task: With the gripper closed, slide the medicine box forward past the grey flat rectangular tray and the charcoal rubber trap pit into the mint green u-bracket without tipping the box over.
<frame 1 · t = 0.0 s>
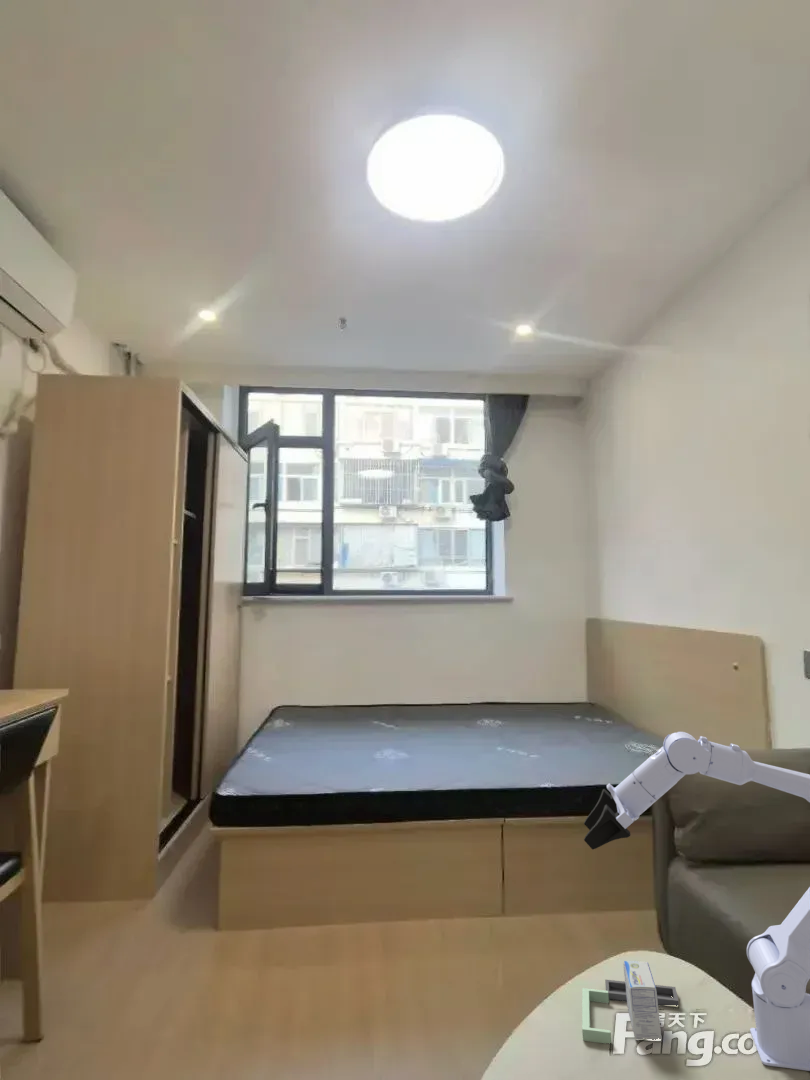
hand: (588, 835, 110), 32 cm above the table, tool tilted 50°, fingers open, 7 cm apart
mint green u-bracket: (586, 1018, 110), on the table
medicine box: (644, 1027, 107), on the table
grey flat rectangular tray: (662, 999, 114), on the table
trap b: (620, 994, 116), on the table
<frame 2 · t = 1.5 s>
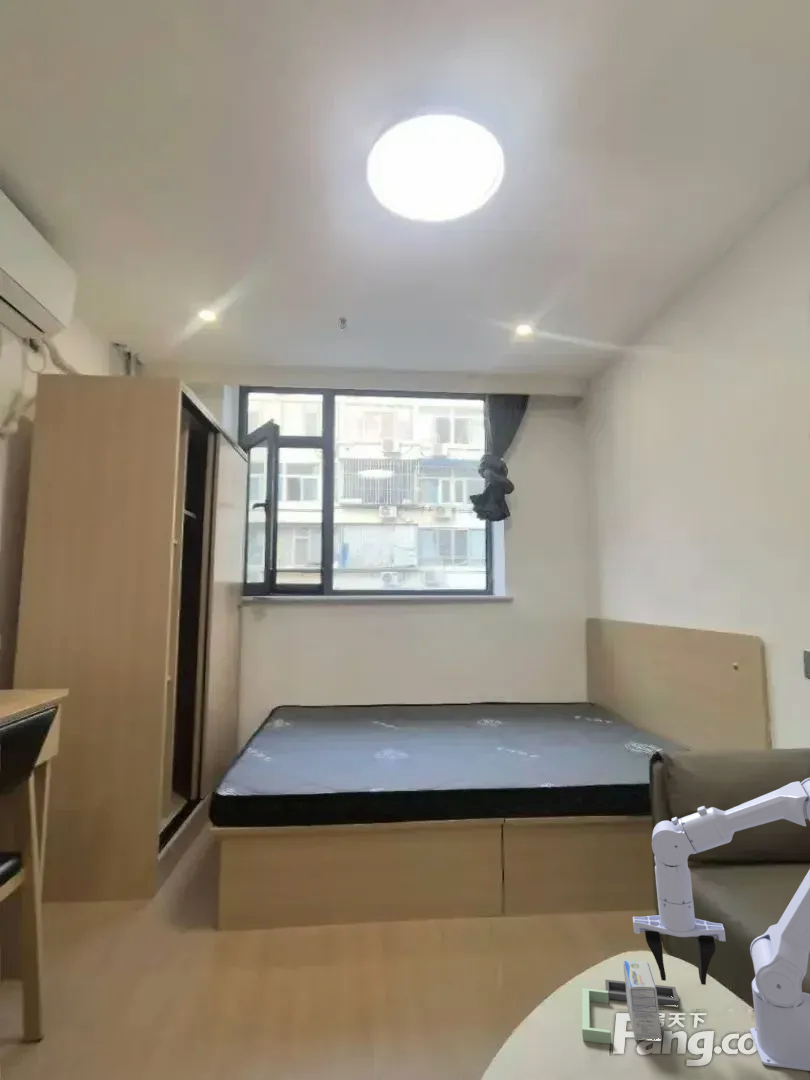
hand: (682, 979, 106), 8 cm above the table, tool pointing down, fingers open, 6 cm apart
nothing on the table moved.
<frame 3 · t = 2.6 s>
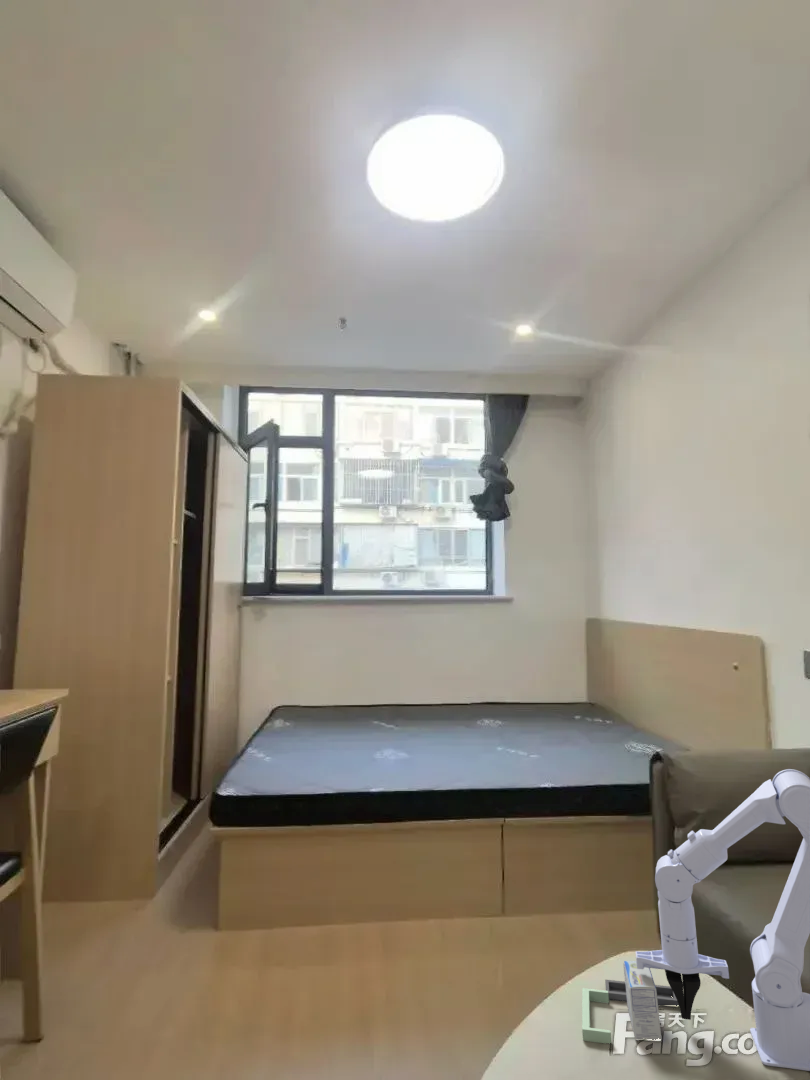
hand: (685, 1015, 105), 3 cm above the table, tool pointing down, fingers closed
nothing on the table moved.
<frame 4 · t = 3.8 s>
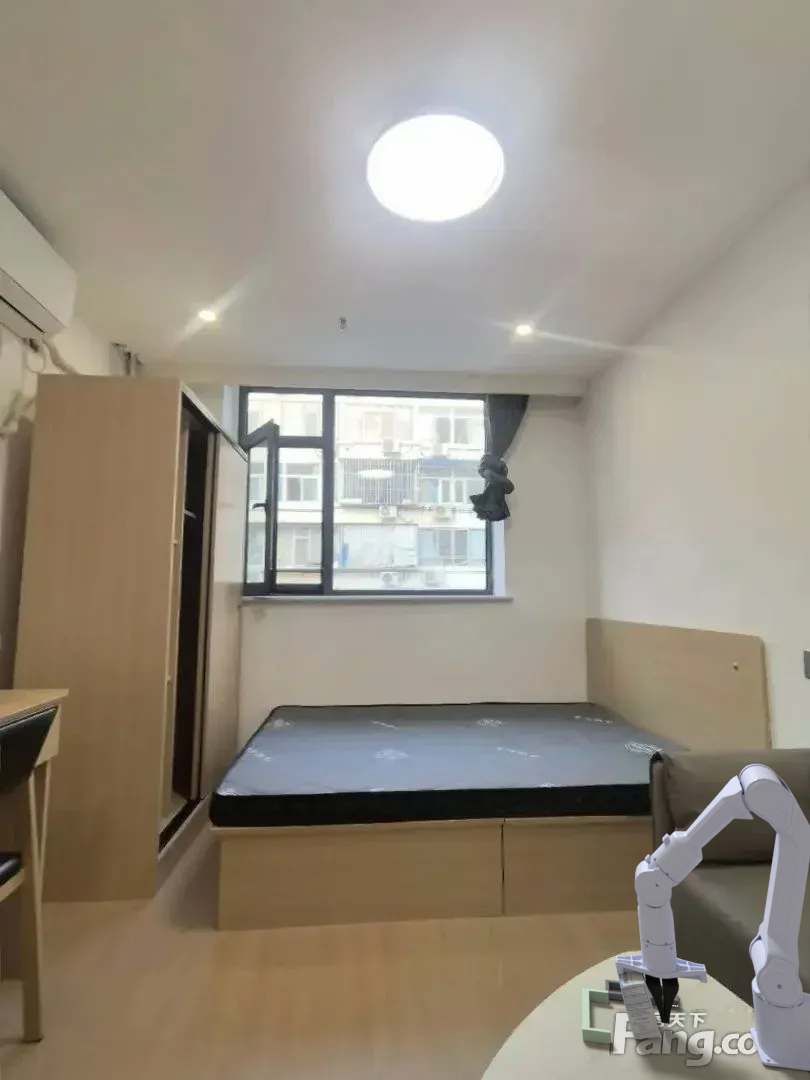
hand: (664, 1019, 106), 1 cm above the table, tool pointing down, fingers closed
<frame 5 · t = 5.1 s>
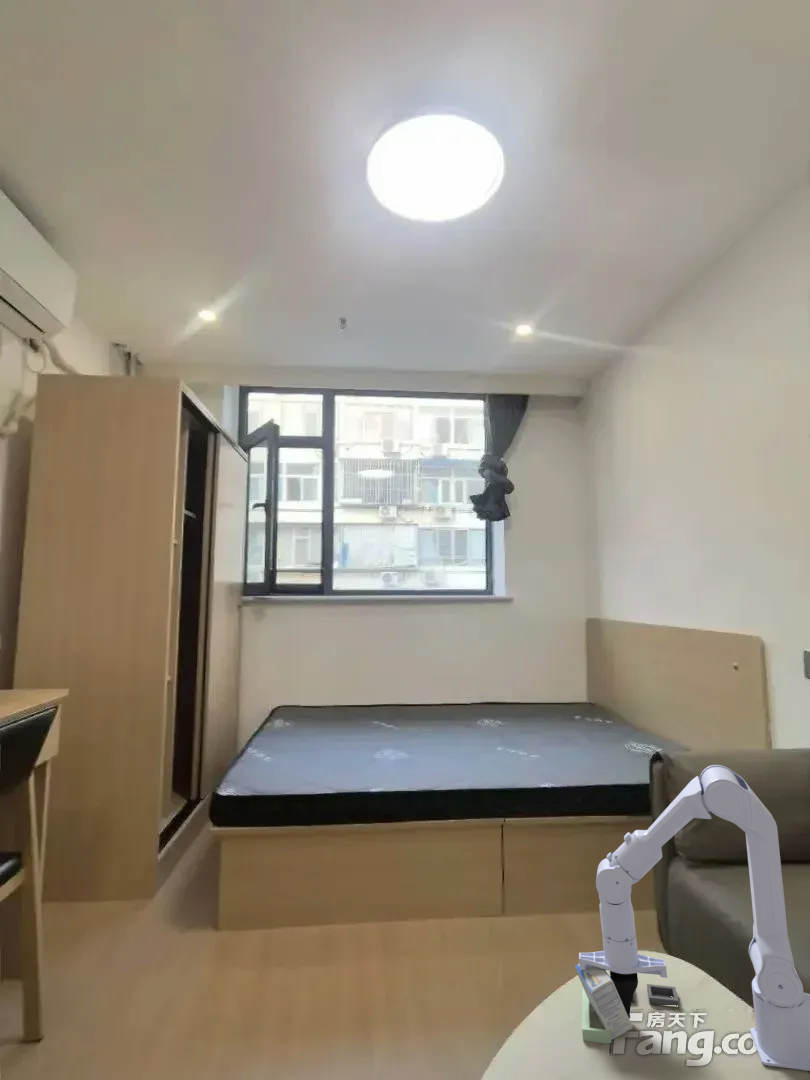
hand: (626, 1014, 108), 1 cm above the table, tool pointing down, fingers closed, pressing on medicine box
medicine box: (613, 1021, 108), on the table, touching gripper, mint green u-bracket
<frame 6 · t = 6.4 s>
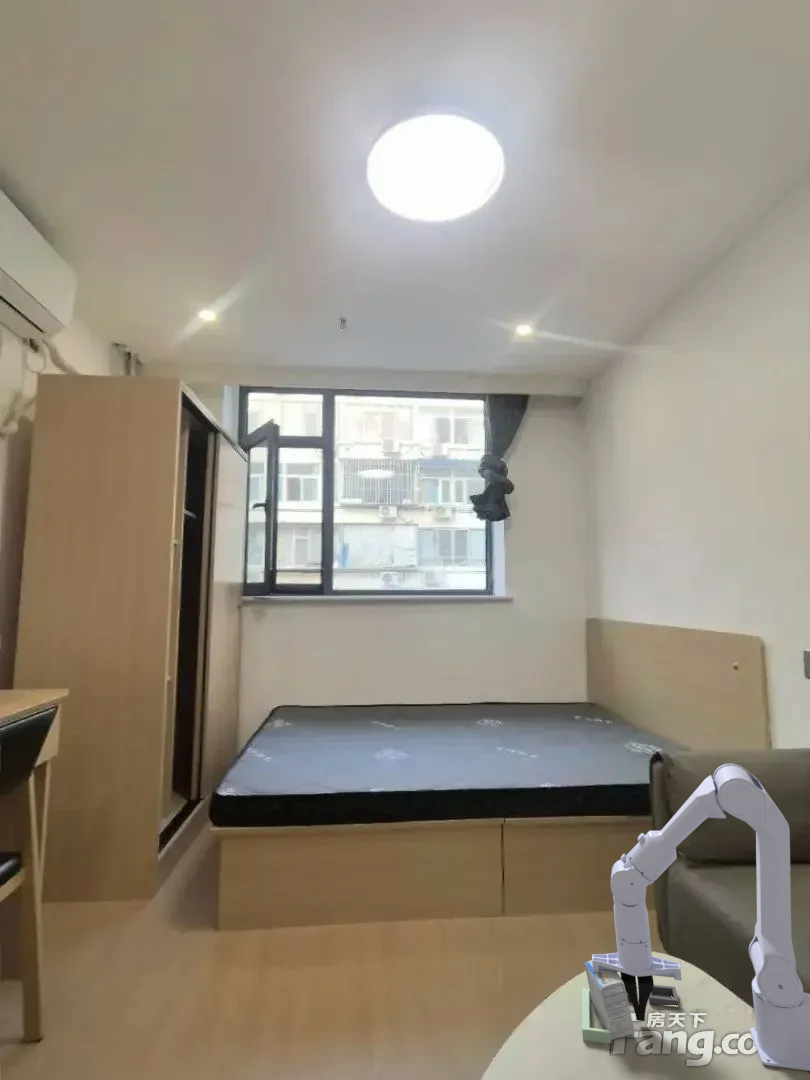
hand: (640, 1017, 107), 1 cm above the table, tool pointing down, fingers closed
medicine box: (613, 1023, 108), on the table, touching gripper
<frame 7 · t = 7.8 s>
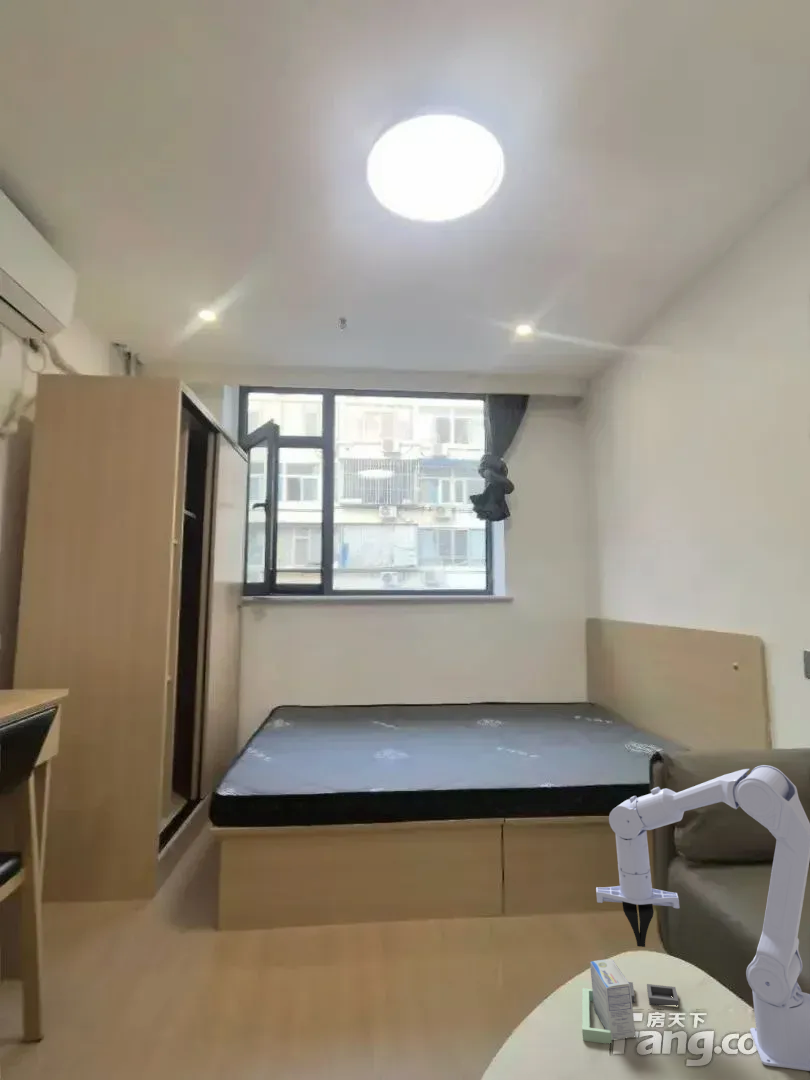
hand: (640, 943, 115), 9 cm above the table, tool pointing down, fingers closed
medicine box: (614, 1025, 108), on the table
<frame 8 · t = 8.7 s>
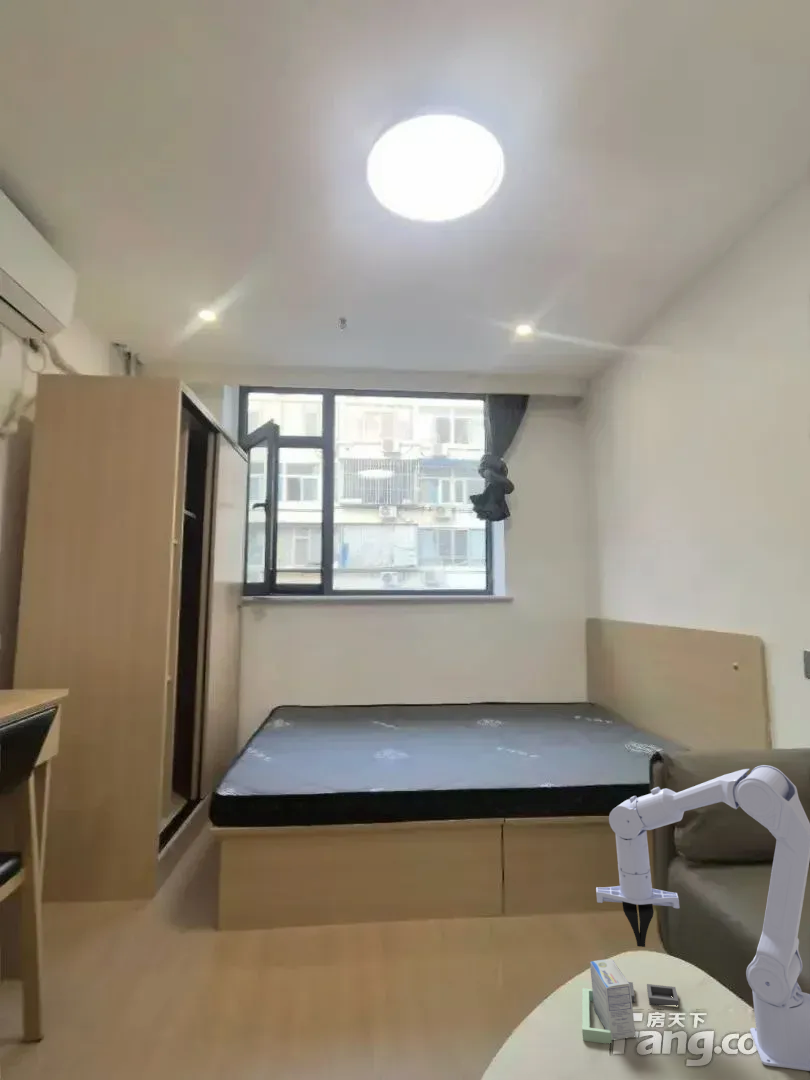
hand: (640, 943, 115), 9 cm above the table, tool pointing down, fingers closed
nothing on the table moved.
at the end: medicine box 1.0 cm from the target spot, on the table; medicine box tilted 0°; medicine box moved 5.0 cm from its start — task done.
